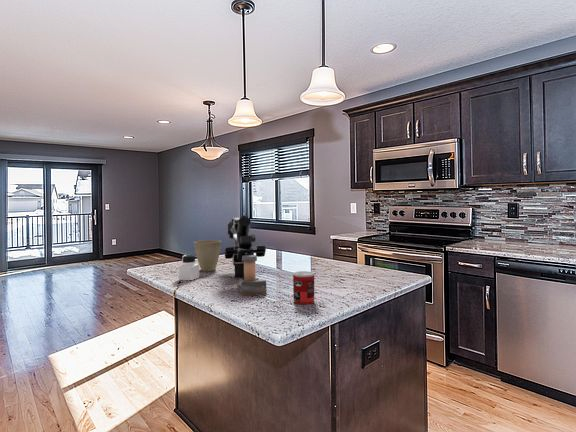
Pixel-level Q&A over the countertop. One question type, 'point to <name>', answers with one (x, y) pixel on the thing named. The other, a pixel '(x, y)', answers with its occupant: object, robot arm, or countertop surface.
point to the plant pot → (207, 253)
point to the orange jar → (249, 267)
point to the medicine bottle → (188, 268)
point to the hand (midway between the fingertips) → (247, 266)
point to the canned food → (303, 287)
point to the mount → (252, 287)
